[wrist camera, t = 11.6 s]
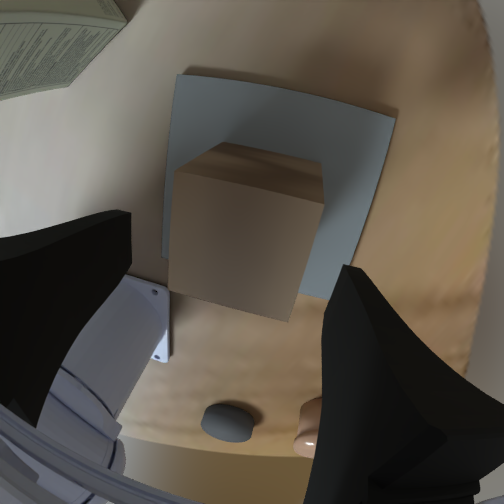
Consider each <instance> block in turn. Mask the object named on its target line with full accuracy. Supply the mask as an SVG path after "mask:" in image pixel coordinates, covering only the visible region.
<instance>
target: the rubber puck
mask: <svg viewBox="0 0 504 504" xmlns="http://www.w3.org/2000/svg"><path fill="white" fill-rule="evenodd" d="M253 426H254V419H253V417H252V416H251V415H250V414H249V413H247V412H246V411H244V410H242V409H240V408H237V407H234V406H230V405H224V404H216V405H211V406H209V407H207V408H206V410H205V413H204V416H203V419H202V421H201V427H202V429H203V430H204V431H205V432H206V433H207V434H209V435H211V436H212V437H214V438H217V439H219V440H223V441H227V442H245V441H247V440H249V439H250V438H251V435H252V431H253Z"/></svg>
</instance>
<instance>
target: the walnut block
mask: <svg viewBox="0 0 504 504" xmlns="http://www.w3.org/2000/svg"><path fill="white" fill-rule="evenodd" d="M324 205H325V204H324V190H323V177H322V166H321V163H318V162H314V161H310V160H306V159H302V158H298V157H294V156H289V155H285V154H281V153H276V152H272V151H267V150H263V149H258V148H253V147H248V146H243V145H238V144H233V143H228V142H221V143H220V144H218V145H216V146H214V147H213V148H211V149H209V150H208V151H206V152H204V153H203V154H201V155H199V156H197V157H196V158H194V159H193V160H191V161H189V162H188V163H186V164H184V165H183V166H181V167H180V168H178V169H176V170H175V171H174V181H173V193H172V206H171V221H170V239H169V262H168V290H170V291H173V292H176V293H180V294H183V295H187V296H190V297H194V298H197V299H201V300H204V301H208V302H211V303H215V304H219V305H222V306H226V307H230V308H234V309H237V310H241V311H245V312H249V313H253V314H256V315H260V316H264V317H268V318H272V319H276V320H280V321H285V322H288V321H289V318H290V315H291V312H292V309H293V306H294V303H295V300H296V297H297V293H298V290H299V287H300V284H301V281H302V278H303V275H304V272H305V268H306V265H307V262H308V259H309V256H310V252H311V249H312V246H313V242H314V239H315V236H316V232H317V229H318V226H319V222H320V219H321V215H322V212H323V208H324Z"/></svg>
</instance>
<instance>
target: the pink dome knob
mask: <svg viewBox="0 0 504 504" xmlns="http://www.w3.org/2000/svg"><path fill="white" fill-rule="evenodd" d="M321 408H322V398H317V399H313V400H310V401H308V402H306V403H304V404H303V405H302V407H301V410H300V418H299V426H298V434H297V437H296V438H295V440H294V446H293V448H294V450H295V452H296V453H298V454H300V455H302V456H305V457H308V458H314V454H315V449H316V443H317V437H318V431H319V423H320V416H321Z"/></svg>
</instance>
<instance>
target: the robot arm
mask: <svg viewBox="0 0 504 504" xmlns="http://www.w3.org/2000/svg"><path fill="white" fill-rule="evenodd" d="M131 264H132V246H131V213H130V212H125V211H121V210H109V211H104V212H100V213H96V214H92V215H89V216H85V217H82V218H79V219H75V220H72V221H69V222H65V223H62V224H58V225H55V226H51V227H48V228H44V229H41V230H37V231H33V232H29V233H24V234H20V235H15V236H10V237H3V238H0V504H106V503H107V502H108V501H110V502H112V503H114V504H204V503H200V502H197V501H193V500H190V499H186V498H183V497H180V496H177V495H174V494H171V493H168V492H165V491H162V490H159V489H156V488H153V487H151V486H148V485H145V484H143V483H140V482H138V481H135V480H133V479H130V478H128V477H125V476H123V473H124V469H125V464H126V457H125V450H124V445H123V443H122V441H121V440H120V439H118V438H117V436H118V434H119V433H120V431H121V429H122V425H120V424H119V423H118V422H117V421H116V420H117V418H118V416H119V414H120V412H121V410H122V409H123V407H124V405H125V403H126V401H127V399H128V398H129V396H130V394H131V392H132V390H133V389H134V387H135V385H136V383H137V381H138V380H139V378H140V376H141V374H142V372H143V371H144V369H145V367H146V365H147V363H148V362H149V360H150V358H152V359H155V360H158V361H160V362H164V363H167V362H168V361H169V359H170V345H169V308H170V292H169V290H168V289H167V288H166V287H165V286H162V285H159V284H155V283H152V282H149V281H146V280H142V279H139V278H136V277H133V276H129V275H126V272H127V271H128V269H129V267H130V266H131ZM154 289H155V290H156V291H157V292H156V291H155V290H154ZM321 346H322V408H321V416H320V423H319V431H318V437H317V443H316V449H315V454H314V460H313V465H312V470H311V474H310V478H309V483H308V487H307V491H306V495H305V499H304V502H303V504H474V497H473V495H476V494H478V493H479V492H480V483H479V480H480V479H481V478H483V477H484V476H486V475H487V474H489V473H490V472H492V471H493V470H495V469H496V468H497V467H499V466H500V465H501V464H503V463H504V404H502V403H500V402H499V401H497V400H495V399H494V398H492V397H490V396H489V395H487V394H485V393H484V392H482V391H481V390H480V389H478V388H477V387H475V386H474V385H473V384H471V383H470V382H468V381H467V380H466V379H464V378H463V377H462V376H460V375H459V374H458V373H457V372H455V371H454V370H453V369H452V368H451V367H449V366H448V365H447V364H446V363H445V362H444V361H442V360H441V359H440V358H439V357H438V356H437V355H436V354H435V353H433V352H432V351H431V350H430V349H429V348H428V347H427V346H426V345H425V344H424V343H423V342H422V341H421V340H420V339H419V338H418V337H417V336H416V335H415V333H414V332H413V331H412V330H411V329H410V328H409V327H408V326H407V324H406V323H405V322H404V321H403V320H402V319H401V318H400V316H399V315H398V314H397V313H396V311H395V310H394V309H393V308H392V307H391V305H390V304H389V303H388V301H387V300H386V299H385V298H384V296H383V295H382V294H381V292H380V291H379V290H378V289H377V287H376V286H375V285H374V283H373V282H372V281H371V279H370V278H369V277H368V276H367V275H366V273H365V272H364V271H363V270H362V269H361V268H357V267H353V266H349V265H345V264H343V266H342V268H341V271H340V274H339V276H338V279H337V282H336V284H335V287H334V289H333V292H332V295H331V297H330V300H329V302H328V305H327V307H326V310H325V312H324V319H323V328H322V338H321ZM477 504H504V495H502V496H499V497H495V498H491V499H488V500H485V501H482V502H479V503H477Z"/></svg>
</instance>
